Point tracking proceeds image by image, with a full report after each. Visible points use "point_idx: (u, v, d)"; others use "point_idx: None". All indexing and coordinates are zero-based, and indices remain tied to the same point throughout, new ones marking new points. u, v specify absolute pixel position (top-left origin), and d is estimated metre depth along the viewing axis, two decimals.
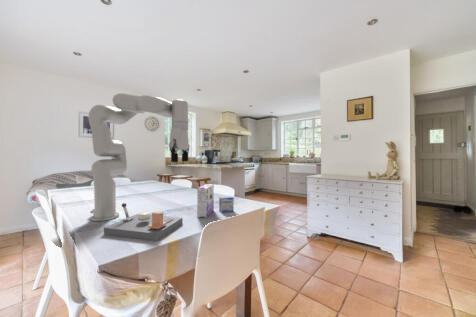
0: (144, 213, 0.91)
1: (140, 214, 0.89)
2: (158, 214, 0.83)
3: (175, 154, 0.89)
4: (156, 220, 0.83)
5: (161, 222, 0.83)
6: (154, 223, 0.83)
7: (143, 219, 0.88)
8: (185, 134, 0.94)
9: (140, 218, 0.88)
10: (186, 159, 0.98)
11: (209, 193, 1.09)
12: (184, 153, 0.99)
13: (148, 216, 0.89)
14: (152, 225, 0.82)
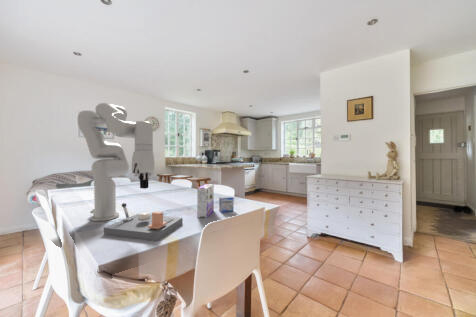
0: (144, 213, 0.91)
1: (140, 214, 0.89)
2: (158, 214, 0.83)
3: (144, 181, 0.89)
4: (156, 220, 0.83)
5: (161, 222, 0.83)
6: (154, 223, 0.83)
7: (143, 219, 0.88)
8: (149, 157, 0.90)
9: (140, 218, 0.88)
10: None
11: (209, 193, 1.10)
12: None
13: (148, 216, 0.89)
14: (152, 225, 0.82)
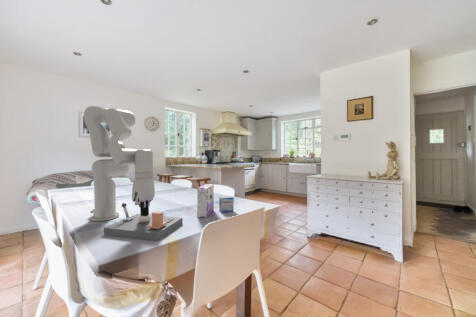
0: None
1: (140, 216, 0.89)
2: (158, 214, 0.83)
3: (144, 208, 0.89)
4: (156, 220, 0.83)
5: (161, 222, 0.83)
6: (154, 223, 0.83)
7: (143, 221, 0.88)
8: (150, 184, 0.90)
9: (140, 220, 0.88)
10: None
11: (209, 193, 1.09)
12: None
13: (148, 218, 0.89)
14: (152, 225, 0.82)
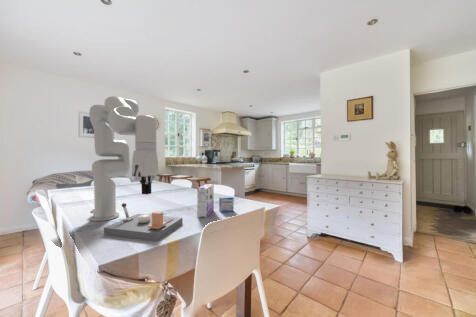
0: (144, 215, 0.91)
1: (140, 216, 0.89)
2: (158, 214, 0.83)
3: (146, 185, 0.76)
4: (156, 220, 0.83)
5: (161, 222, 0.83)
6: (154, 223, 0.83)
7: (143, 221, 0.88)
8: (152, 157, 0.77)
9: (140, 220, 0.88)
10: None
11: (209, 193, 1.09)
12: None
13: (148, 218, 0.89)
14: (152, 225, 0.82)
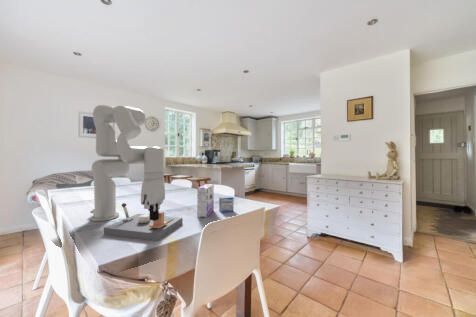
0: (144, 215, 0.91)
1: (140, 216, 0.89)
2: (159, 213, 0.83)
3: (154, 212, 0.80)
4: None
5: (162, 221, 0.84)
6: (155, 222, 0.84)
7: (143, 221, 0.88)
8: (160, 185, 0.82)
9: (140, 220, 0.88)
10: None
11: (209, 193, 1.09)
12: None
13: (148, 218, 0.89)
14: (153, 225, 0.83)
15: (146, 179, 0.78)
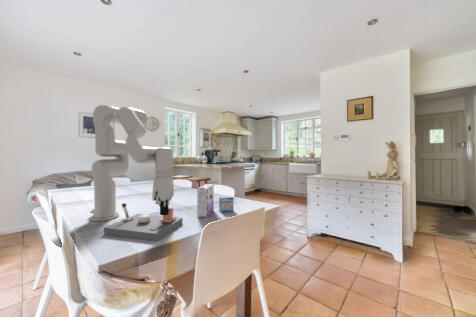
0: (144, 215, 0.91)
1: (140, 216, 0.89)
2: (169, 209, 0.90)
3: (164, 207, 0.87)
4: None
5: (171, 216, 0.91)
6: (165, 217, 0.91)
7: (143, 221, 0.88)
8: (169, 183, 0.88)
9: (140, 220, 0.88)
10: None
11: (209, 193, 1.09)
12: None
13: (148, 218, 0.89)
14: (163, 219, 0.90)
15: (157, 177, 0.85)
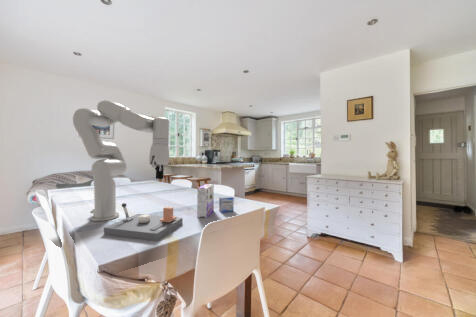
0: (144, 215, 0.91)
1: (140, 216, 0.89)
2: (169, 209, 0.91)
3: (159, 172, 0.97)
4: (167, 214, 0.91)
5: (171, 216, 0.91)
6: (165, 217, 0.91)
7: (143, 221, 0.88)
8: (165, 150, 0.98)
9: (140, 220, 0.88)
10: None
11: (209, 193, 1.09)
12: None
13: (148, 218, 0.89)
14: (163, 219, 0.90)
15: (154, 143, 0.94)
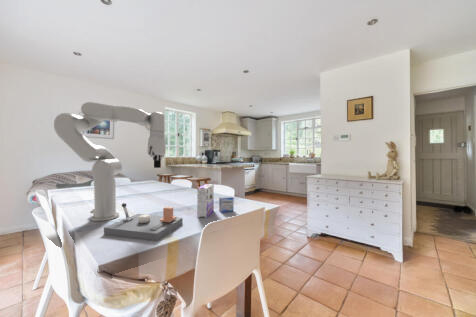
0: (144, 215, 0.91)
1: (140, 216, 0.89)
2: (169, 209, 0.91)
3: (157, 161, 1.07)
4: (167, 214, 0.91)
5: (171, 216, 0.91)
6: (165, 217, 0.91)
7: (143, 221, 0.88)
8: (162, 141, 1.08)
9: (140, 220, 0.88)
10: None
11: (209, 193, 1.09)
12: None
13: (148, 218, 0.89)
14: (163, 219, 0.90)
15: (151, 135, 1.05)
